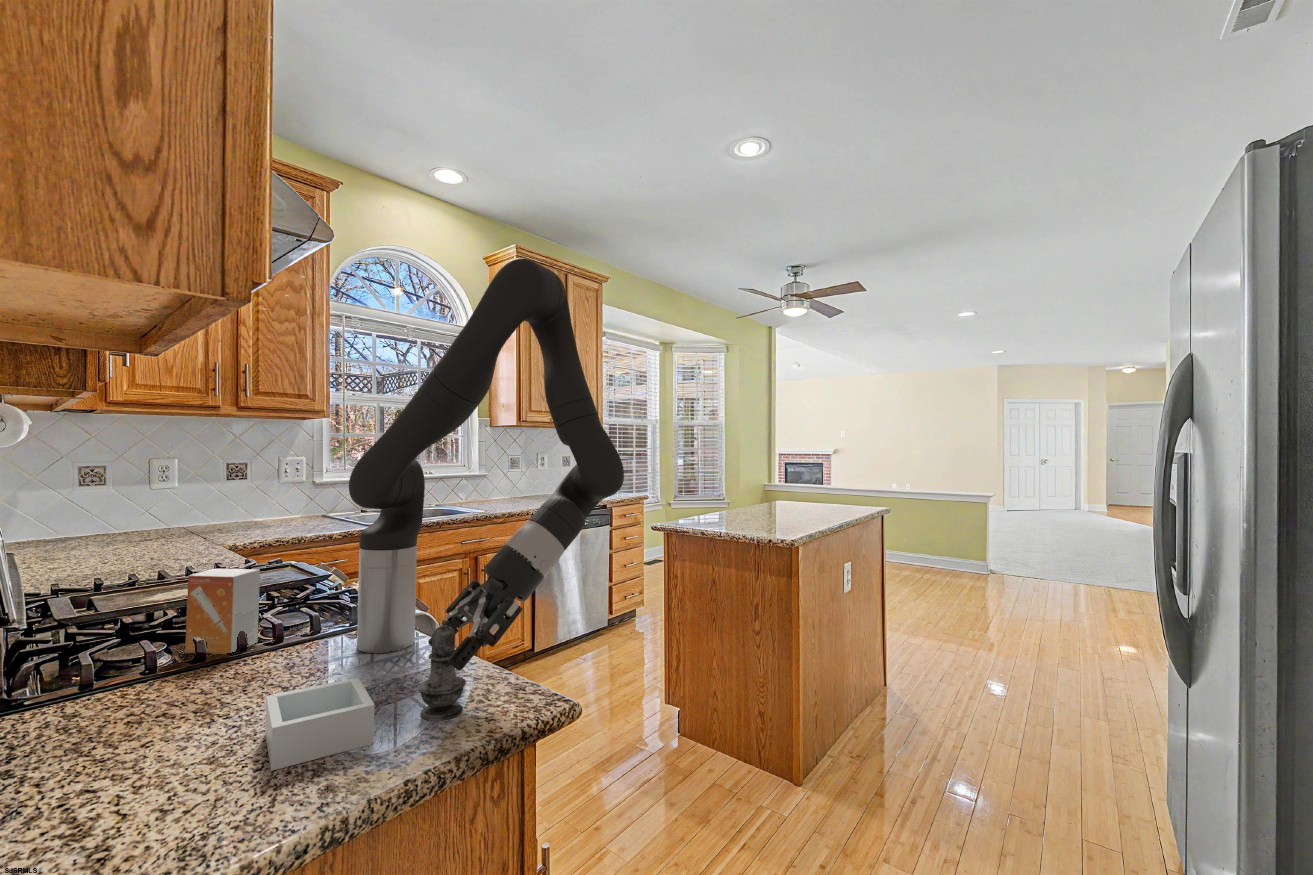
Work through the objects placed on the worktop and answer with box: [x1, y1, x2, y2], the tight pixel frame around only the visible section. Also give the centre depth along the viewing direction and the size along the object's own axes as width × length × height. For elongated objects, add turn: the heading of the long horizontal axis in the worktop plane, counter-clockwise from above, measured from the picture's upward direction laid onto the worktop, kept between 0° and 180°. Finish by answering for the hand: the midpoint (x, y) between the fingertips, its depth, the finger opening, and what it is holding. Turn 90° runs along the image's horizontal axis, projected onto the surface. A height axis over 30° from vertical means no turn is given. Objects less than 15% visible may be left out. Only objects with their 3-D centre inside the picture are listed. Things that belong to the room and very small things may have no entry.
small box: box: [184, 568, 261, 655], centre depth 100 cm, size 8×6×13 cm
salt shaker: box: [418, 619, 467, 722], centre depth 77 cm, size 6×6×12 cm
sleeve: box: [264, 677, 375, 772], centre depth 69 cm, size 10×10×4 cm
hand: (442, 656), depth 77 cm, fingers open, 8 cm apart
